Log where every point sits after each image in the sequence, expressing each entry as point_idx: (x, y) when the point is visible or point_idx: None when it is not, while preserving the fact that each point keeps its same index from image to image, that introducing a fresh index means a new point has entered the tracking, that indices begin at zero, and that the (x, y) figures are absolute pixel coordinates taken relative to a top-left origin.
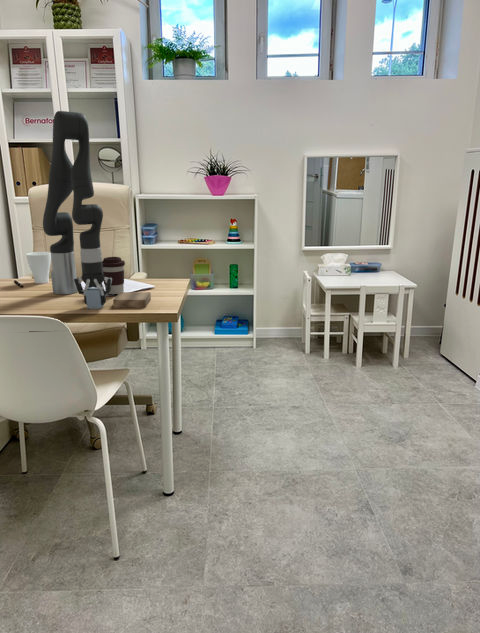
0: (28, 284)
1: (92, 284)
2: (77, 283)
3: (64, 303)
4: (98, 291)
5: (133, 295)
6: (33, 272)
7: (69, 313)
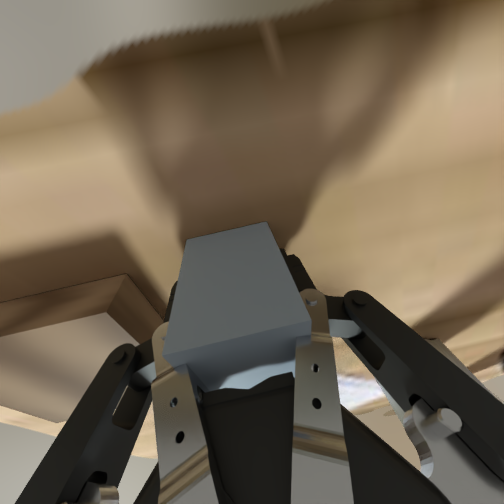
0: (485, 364)
1: (257, 424)
2: (453, 394)
3: (401, 272)
4: (170, 342)
5: (78, 386)
6: (502, 402)
7: (352, 67)
